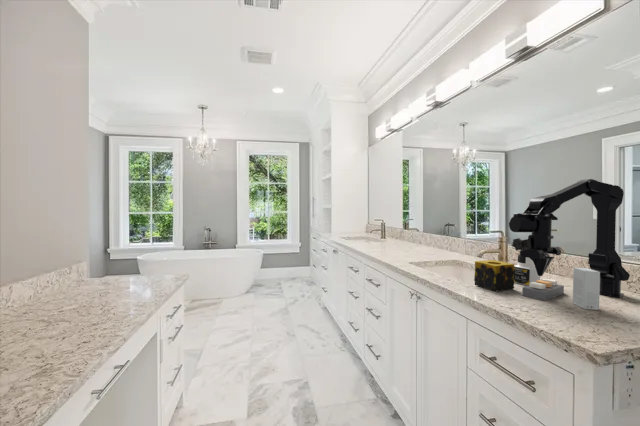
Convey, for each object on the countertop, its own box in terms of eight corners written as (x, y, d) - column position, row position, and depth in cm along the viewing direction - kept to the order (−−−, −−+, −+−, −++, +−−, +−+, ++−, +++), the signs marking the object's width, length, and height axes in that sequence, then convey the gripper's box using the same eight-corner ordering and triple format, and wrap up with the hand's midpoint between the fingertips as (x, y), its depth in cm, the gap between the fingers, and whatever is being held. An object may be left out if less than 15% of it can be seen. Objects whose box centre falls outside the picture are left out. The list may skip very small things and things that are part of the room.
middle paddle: (538, 283, 111) (538, 280, 111) (551, 286, 108) (551, 282, 108) (535, 284, 110) (535, 281, 110) (548, 287, 106) (548, 283, 106)
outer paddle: (532, 285, 108) (532, 281, 108) (545, 288, 105) (545, 284, 105) (529, 286, 107) (529, 282, 107) (542, 289, 104) (542, 285, 104)
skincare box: (599, 310, 92) (600, 271, 92) (584, 309, 93) (584, 271, 93) (586, 304, 98) (587, 268, 98) (571, 303, 99) (572, 267, 99)
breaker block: (541, 289, 116) (541, 281, 116) (563, 293, 110) (563, 285, 110) (522, 295, 107) (522, 287, 107) (545, 300, 101) (545, 292, 101)
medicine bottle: (511, 282, 127) (512, 254, 127) (522, 280, 130) (523, 253, 130) (529, 286, 120) (529, 256, 120) (540, 284, 123) (540, 255, 123)
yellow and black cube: (492, 283, 125) (492, 259, 125) (515, 289, 115) (515, 264, 115) (473, 285, 122) (473, 260, 122) (494, 291, 112) (495, 265, 112)
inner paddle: (544, 282, 114) (544, 278, 114) (557, 284, 110) (557, 280, 110) (541, 283, 112) (541, 279, 112) (554, 285, 109) (554, 281, 109)
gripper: (527, 230, 119) (526, 269, 119) (504, 231, 109) (503, 274, 109) (562, 232, 109) (560, 274, 110) (539, 234, 99) (538, 280, 100)
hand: (540, 275), depth 107 cm, fingers closed
